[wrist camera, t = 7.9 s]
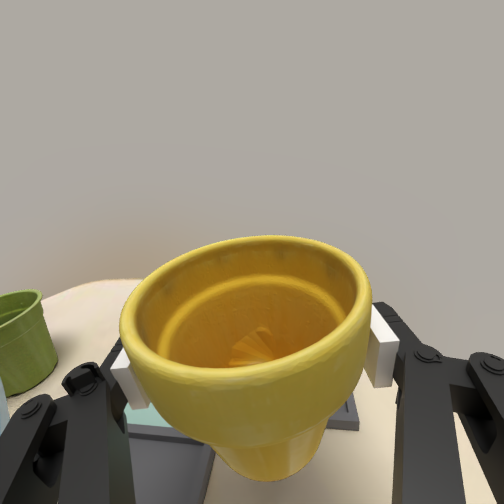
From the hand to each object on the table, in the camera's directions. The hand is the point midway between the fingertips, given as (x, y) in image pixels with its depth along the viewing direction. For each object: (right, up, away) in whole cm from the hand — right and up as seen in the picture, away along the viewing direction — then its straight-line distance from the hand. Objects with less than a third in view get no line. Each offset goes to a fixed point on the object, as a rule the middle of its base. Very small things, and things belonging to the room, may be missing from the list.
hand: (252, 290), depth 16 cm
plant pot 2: (+1, -7, -1) cm, 7 cm away
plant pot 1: (-33, -16, +20) cm, 42 cm away
